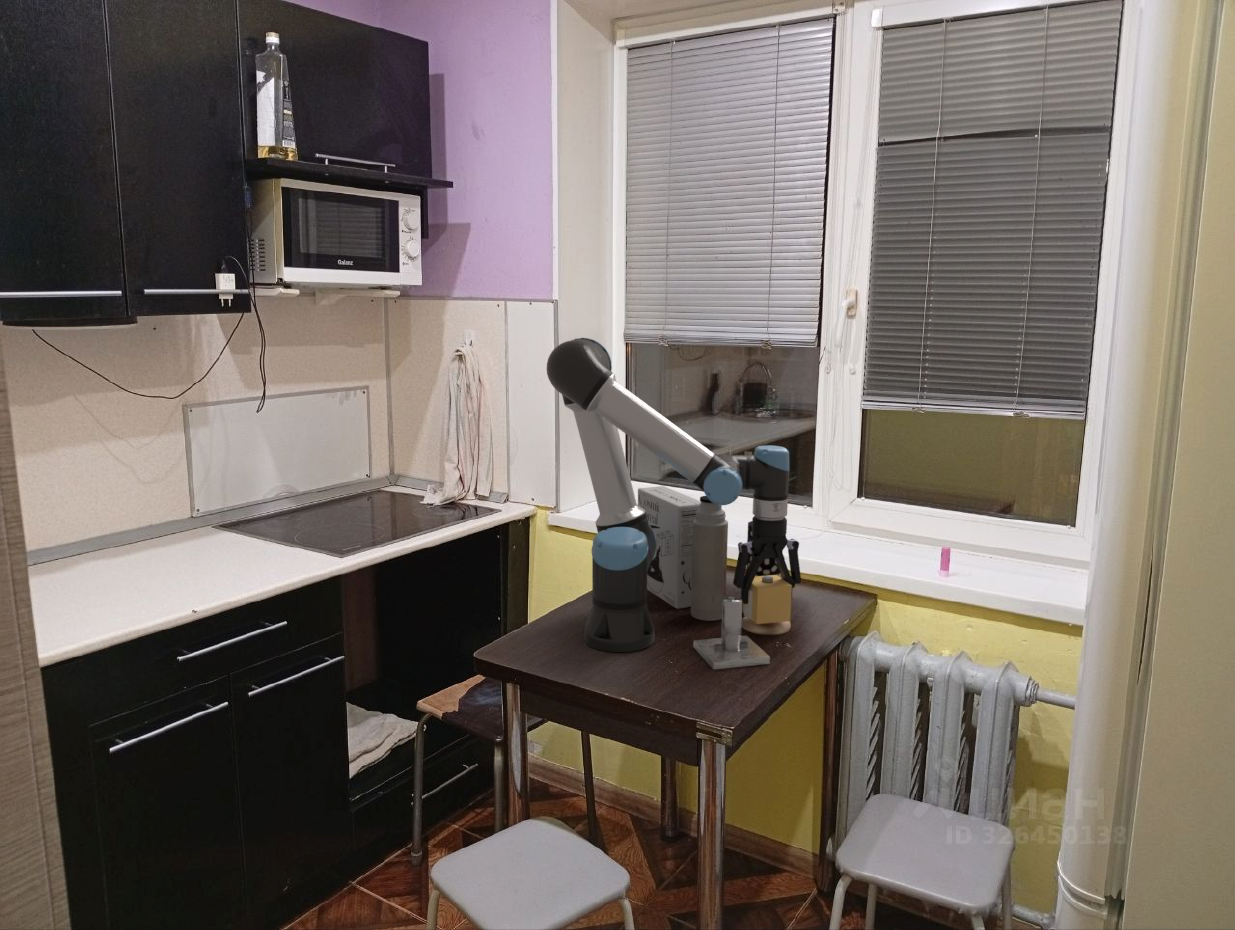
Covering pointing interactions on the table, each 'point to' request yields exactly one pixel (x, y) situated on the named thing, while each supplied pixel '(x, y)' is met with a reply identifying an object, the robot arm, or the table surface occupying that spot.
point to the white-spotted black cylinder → (768, 564)
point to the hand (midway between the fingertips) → (765, 615)
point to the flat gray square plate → (731, 641)
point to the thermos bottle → (709, 561)
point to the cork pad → (765, 627)
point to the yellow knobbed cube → (770, 599)
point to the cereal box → (670, 543)
